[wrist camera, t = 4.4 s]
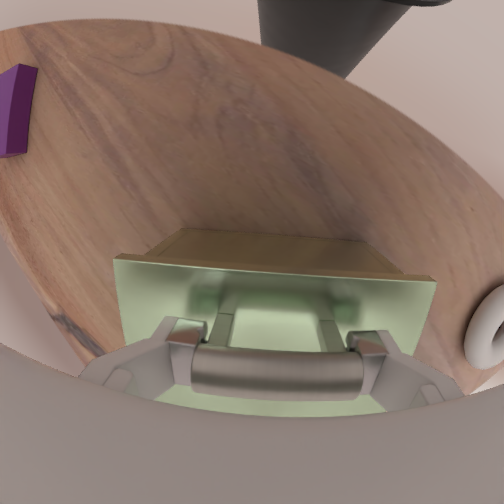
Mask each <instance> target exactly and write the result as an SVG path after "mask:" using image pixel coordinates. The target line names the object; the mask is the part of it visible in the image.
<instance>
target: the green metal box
mask: <svg viewBox="0 0 504 504" xmlns="http://www.w3.org/2000/svg"><path fill="white" fill-rule="evenodd" d="M145 255H146V256H157V257H169V258H181V259H193V260H205V261H218V262H230V263H243V264H256V265H270V266H284V267H298V268H312V269H327V270H342V271H358V272H374V273H391V274H404V273H403V272H402V271H401V270H399V269H398V268H397V267H396V266H395V265H394V264H392V263H391V262H390V261H389V260H388V259H387V258H385V257H384V256H383V255H382V254H381V253H379V252H378V251H377V250H376V249H375V248H373V247H372V246H371V245H369V244H368V243H367V242H359V241H348V240H337V239H325V238H313V237H301V236H288V235H275V234H261V233H247V232H233V231H218V230H202V229H185V228H181V229H180V230H178V231H176V232H175V233H174V234H172V235H171V236H169V237H168V238H167V239H165V240H164V241H162V242H161V243H160V244H158V245H157V246H155V247H154V248H153V249H151V250H150V251H149V252H147V253H146V254H145Z"/></svg>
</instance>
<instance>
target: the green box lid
mask: <svg viewBox="0 0 504 504" xmlns="http://www.w3.org/2000/svg"><path fill="white" fill-rule="evenodd" d="M113 266H114V275H115V283H116V291H117V298H118V304H119V311H120V317H121V322H122V328H123V333H124V338H125V343H126V346H128V345H130V344H133V343H135V342H138V341H140V340H143V339H145V338H148V339H150V338H151V336H152V335H153V333H154V332H155V330H156V329H157V327H158V326H159V324H160V323H161V321H162V320H163V318H164V317H165V316H171V317H179V318H185V319H192V320H199V321H206V322H207V326H208V333H207V336H206V340H207V344H205V343H199V344H198V345H197V347H196V349H195V351H194V354H193V358H192V363H191V373H190V381H191V386H185V385H178V384H174V386H173V387H171V388H170V389H169V390H167V391H166V392H164V393H163V394H162V395H160V396H159V397H158V398H156V399H155V401H160V402H164V403H169V404H174V405H179V406H185V407H190V408H196V409H203V410H209V411H217V412H225V413H234V414H244V415H256V416H273V417H334V416H352V415H364V414H374V413H383V412H386V410H385V409H384V408H383V407H382V406H381V405H380V404H379V403H378V402H376V401H375V400H374V399H373V398H372V397H371V396H370V394H367V395H360V392H361V390H362V386H363V380H364V367H363V361H362V358H361V356H360V355H359V354H358V353H357V352H347V351H346V347H347V344H346V342H345V339H346V336H347V333H348V331H368V330H387V331H389V333H390V334H391V336H392V338H393V339H394V341H395V342H396V344H397V345H398V347H399V349H400V350H401V352H402V353H406V354H408V355H410V356H413V353H414V351H415V348H416V346H417V343H418V341H419V338H420V335H421V332H422V330H423V327H424V324H425V321H426V318H427V315H428V312H429V309H430V306H431V303H432V299H433V296H434V293H435V289H436V286H437V281H435V280H434V279H433V278H431V277H430V276H426V275H408V274H391V273H374V272H358V271H342V270H327V269H312V268H298V267H284V266H270V265H256V264H243V263H230V262H218V261H205V260H193V259H181V258H169V257H157V256H146V255H135V254H124V253H121V254H120V255H118V256H116V257H115V258H113Z"/></svg>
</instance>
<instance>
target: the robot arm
mask: <svg viewBox="0 0 504 504" xmlns="http://www.w3.org/2000/svg"><path fill="white" fill-rule="evenodd" d="M207 333H208V326H207V322H206V321H199V320H192V319H185V318H179V317H171V316H165V317H164V318H163V320H162V321H161V323H160V324H159V326H158V327H157V329H156V330H155V332H154V333H153V335H152V336H151V338H150V339H148V338H145V339H143V340H140V341H138V342H135V343H133V344H130V345H128V346H126V347H123V348H121V349H118V350H116V351H113V352H110V353H108V354H105V355H103V356H100V357H98V358H95V359H92V360H91V362H90V363H89V364H88V365H87V366H86V368H85V369H84V370H83V371H82V372H81V374H80V375H79V376H78V377H74V376H72V375H69V374H66V373H64V372H61V371H58V370H56V369H54V368H51V367H49V366H47V365H44V364H42V363H40V362H38V361H36V360H33V359H31V358H29V357H27V356H25V355H23V354H21V353H19V352H17V351H15V350H13V349H11V348H9V347H7V346H6V345H4V344H2V343H0V504H504V384H502V385H499V386H496V387H493V388H490V389H487V390H484V391H481V392H478V393H475V394H471V395H468V396H465V395H464V394H463V392H462V391H461V389H460V388H459V386H458V385H457V383H456V382H455V381H454V379H453V378H451V377H449V376H447V375H445V374H443V373H441V372H440V371H438V370H436V369H434V368H432V367H430V366H428V365H427V364H425V363H423V362H421V361H419V360H417V359H416V358H414V357H412V356H410V355H408V354H406V353H402V352H401V350H400V349H399V347H398V345H397V344H396V342H395V341H394V339H393V338H392V336H391V334H390V333H389V331H387V330H368V331H348V333H347V336H346V339H345V342H346V344H347V347H346V351H347V352H357V353H358V354H359V355H360V356H361V358H362V361H363V367H364V380H363V386H362V390H361V392H360V395H367V394H370V396H371V397H372V398H373V399H374V400H375V401H376V402H378V403H379V404H380V405H381V406H382V407H383V408H384V409H385V410H386V411H387V412H383V413H374V414H364V415H352V416H334V417H273V416H256V415H244V414H234V413H225V412H217V411H209V410H203V409H196V408H190V407H185V406H179V405H174V404H169V403H164V402H160V401H155V399H156V398H158V397H159V396H160V395H162V394H163V393H164V392H166V391H167V390H169V389H170V388H171V387H173V386H174V384H178V385H185V386H191V381H190V373H191V363H192V358H193V354H194V351H195V349H196V347H197V345H198V344H199V343H205V344H207V340H206V336H207Z"/></svg>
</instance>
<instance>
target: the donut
mask: <svg viewBox="0 0 504 504" xmlns="http://www.w3.org/2000/svg"><path fill="white" fill-rule="evenodd" d="M502 322H503V323H502ZM501 324H502V325H501ZM500 325H501V327H500V329H499V330H498V328H499V326H500ZM497 330H498V331H497ZM496 331H497V333H496ZM495 333H496V334H495ZM464 350H465V357H466V359H467V361H468V362H469V363H470V365H471V366H472V367H474V368H478V369H483V370H484V369H488V368H491V367H494V366H496V365H497V364H499V363H500V362H502V361H503V360H504V284H503V285H501V286H499V287H497V288H496V289H494V290H493V291H492V292H491V293H490V294H489V295H488V296H487V297H485V299H484V300H483V301H482V303H481V304H480V305H479V307H478V308H477V310H476V311H475V313H474V315H473V317H472V319H471V321H470V323H469V326H468V329H467V331H466V335H465V341H464Z"/></svg>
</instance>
